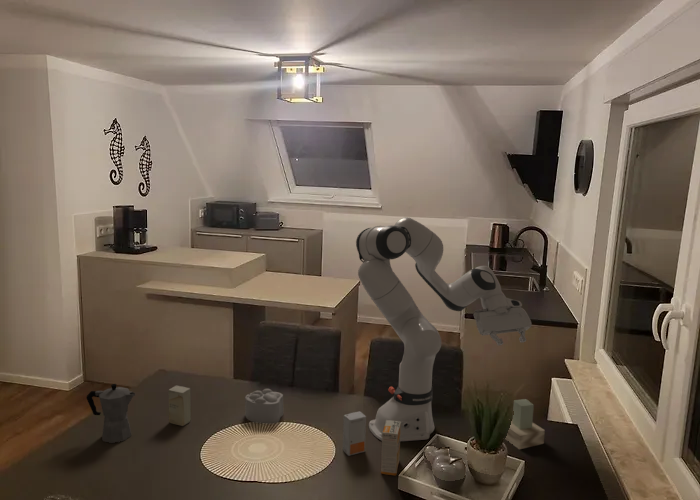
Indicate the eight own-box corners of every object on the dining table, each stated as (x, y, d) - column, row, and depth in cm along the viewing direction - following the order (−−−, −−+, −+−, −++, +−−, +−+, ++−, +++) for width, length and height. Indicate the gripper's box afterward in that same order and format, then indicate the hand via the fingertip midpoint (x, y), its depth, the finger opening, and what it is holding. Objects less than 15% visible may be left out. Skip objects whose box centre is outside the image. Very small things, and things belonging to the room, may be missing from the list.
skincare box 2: (348, 456, 165) (349, 420, 163) (342, 450, 169) (342, 414, 167) (365, 452, 168) (366, 416, 166) (359, 445, 171) (360, 410, 169)
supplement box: (396, 476, 155) (398, 434, 153) (380, 474, 156) (381, 432, 154) (400, 461, 163) (401, 420, 161) (384, 459, 164) (385, 419, 162)
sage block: (519, 429, 174) (521, 406, 173) (512, 422, 178) (513, 400, 177) (532, 427, 175) (533, 404, 174) (524, 421, 179) (525, 398, 178)
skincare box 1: (168, 423, 184) (167, 389, 182) (177, 417, 188) (176, 384, 186) (183, 426, 182) (182, 392, 180) (192, 420, 186) (190, 387, 184)
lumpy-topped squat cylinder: (276, 424, 184) (276, 401, 182) (240, 421, 186) (240, 398, 184) (285, 411, 194) (285, 388, 193) (250, 407, 196) (250, 385, 195)
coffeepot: (142, 429, 180) (139, 378, 177) (132, 443, 170) (129, 390, 167) (95, 429, 179) (92, 378, 176) (82, 443, 170) (78, 390, 167)
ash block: (519, 450, 171) (520, 435, 170) (499, 435, 180) (499, 421, 179) (543, 444, 175) (544, 430, 174) (522, 430, 184) (523, 416, 183)
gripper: (475, 305, 184) (490, 342, 176) (524, 301, 191) (541, 335, 184) (467, 314, 189) (482, 350, 181) (515, 309, 196) (531, 344, 189)
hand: (512, 343), depth 183 cm, fingers open, 8 cm apart
